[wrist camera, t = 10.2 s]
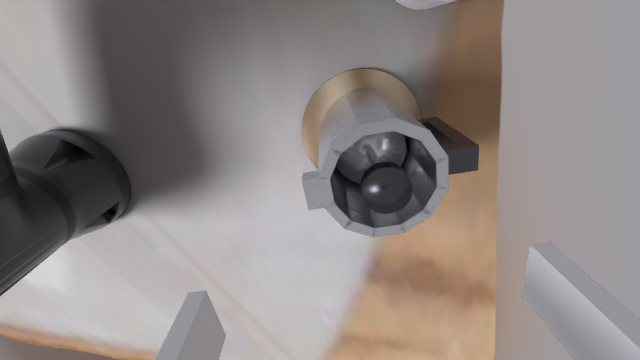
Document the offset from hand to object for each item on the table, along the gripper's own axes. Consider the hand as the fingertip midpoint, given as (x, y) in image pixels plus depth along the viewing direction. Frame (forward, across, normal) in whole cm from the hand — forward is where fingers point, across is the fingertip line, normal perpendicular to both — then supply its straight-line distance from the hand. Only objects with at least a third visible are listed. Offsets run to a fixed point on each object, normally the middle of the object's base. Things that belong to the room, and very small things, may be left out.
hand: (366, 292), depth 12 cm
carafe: (+30, +5, -2) cm, 30 cm away
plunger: (+23, +4, -2) cm, 23 cm away
